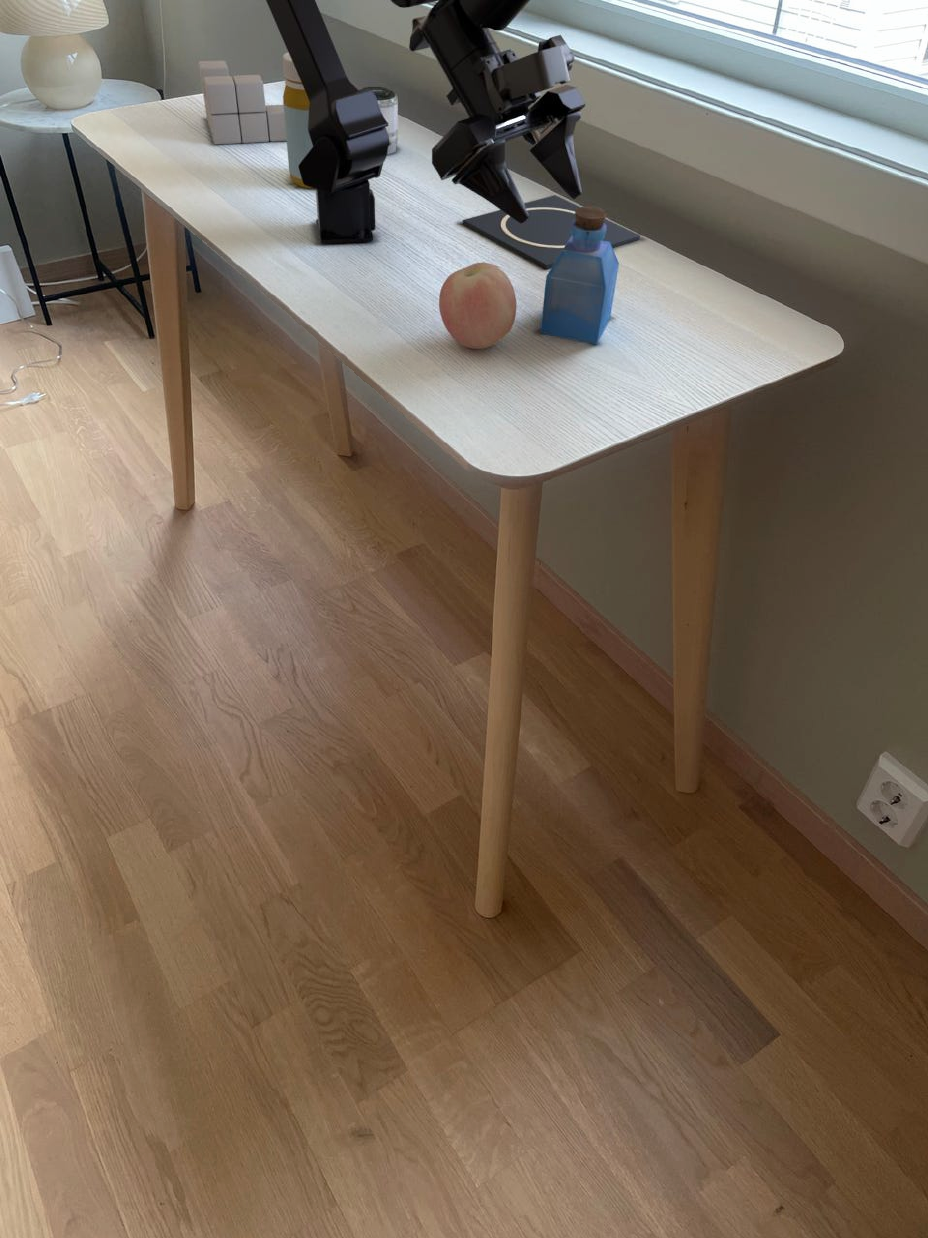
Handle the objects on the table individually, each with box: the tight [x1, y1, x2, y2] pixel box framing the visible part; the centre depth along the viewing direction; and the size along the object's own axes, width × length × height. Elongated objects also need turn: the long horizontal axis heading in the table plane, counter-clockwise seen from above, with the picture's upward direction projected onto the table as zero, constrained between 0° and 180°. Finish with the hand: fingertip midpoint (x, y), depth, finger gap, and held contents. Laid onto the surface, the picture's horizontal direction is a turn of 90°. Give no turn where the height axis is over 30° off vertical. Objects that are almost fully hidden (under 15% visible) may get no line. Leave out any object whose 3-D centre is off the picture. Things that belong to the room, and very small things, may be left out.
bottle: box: [282, 51, 315, 190], centre depth 121 cm, size 7×7×15 cm
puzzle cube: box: [198, 60, 287, 145], centre depth 138 cm, size 12×12×8 cm
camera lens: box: [358, 86, 399, 156], centre depth 134 cm, size 6×6×8 cm
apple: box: [438, 261, 517, 350], centre depth 93 cm, size 8×8×8 cm
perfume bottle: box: [539, 205, 620, 345], centre depth 95 cm, size 6×6×12 cm
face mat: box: [462, 194, 641, 270], centre depth 117 cm, size 16×16×1 cm
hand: (552, 208), depth 94 cm, fingers open, 9 cm apart
